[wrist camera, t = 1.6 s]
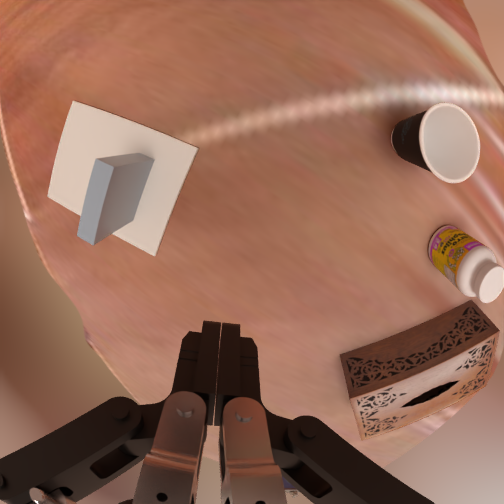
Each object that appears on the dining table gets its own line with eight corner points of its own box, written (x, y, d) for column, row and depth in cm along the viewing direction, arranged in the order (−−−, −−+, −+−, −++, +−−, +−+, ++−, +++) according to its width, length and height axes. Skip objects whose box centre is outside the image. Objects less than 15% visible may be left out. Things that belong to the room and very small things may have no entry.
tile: (154, 159, 33) (114, 167, 24) (133, 220, 36) (93, 245, 27) (139, 152, 33) (95, 158, 24) (119, 213, 36) (77, 235, 27)
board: (199, 148, 33) (197, 148, 32) (156, 254, 39) (154, 256, 38) (75, 101, 31) (73, 100, 30) (49, 195, 37) (47, 196, 36)
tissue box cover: (470, 299, 37) (499, 330, 28) (465, 353, 42) (486, 385, 32) (339, 353, 43) (349, 398, 33) (353, 400, 47) (361, 440, 38)
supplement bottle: (453, 215, 32) (508, 246, 21) (464, 251, 34) (513, 289, 22) (420, 239, 34) (469, 280, 22) (433, 274, 36) (476, 320, 24)
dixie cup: (434, 167, 31) (483, 180, 20) (384, 173, 32) (425, 187, 22) (425, 110, 28) (474, 103, 18) (374, 112, 29) (413, 101, 19)
